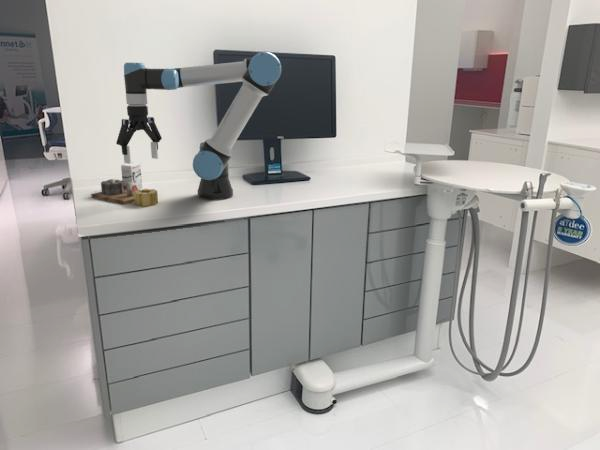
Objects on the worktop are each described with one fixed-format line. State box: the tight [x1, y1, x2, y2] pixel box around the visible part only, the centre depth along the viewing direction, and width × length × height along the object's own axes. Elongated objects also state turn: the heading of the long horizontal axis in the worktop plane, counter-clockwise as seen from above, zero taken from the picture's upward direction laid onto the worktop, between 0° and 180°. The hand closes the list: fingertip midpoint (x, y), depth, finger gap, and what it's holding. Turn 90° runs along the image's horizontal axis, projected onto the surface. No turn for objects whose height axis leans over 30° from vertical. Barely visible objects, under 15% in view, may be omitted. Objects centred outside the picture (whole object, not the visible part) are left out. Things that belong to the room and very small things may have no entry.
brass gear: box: [134, 188, 159, 207], centre depth 191 cm, size 9×9×5 cm
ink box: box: [120, 161, 143, 191], centre depth 212 cm, size 9×5×12 cm, turn 168°
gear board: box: [90, 178, 135, 205], centre depth 199 cm, size 20×14×7 cm
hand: (141, 160), depth 189 cm, fingers open, 13 cm apart
